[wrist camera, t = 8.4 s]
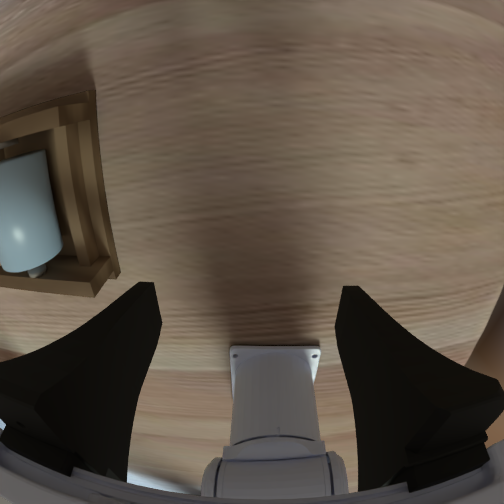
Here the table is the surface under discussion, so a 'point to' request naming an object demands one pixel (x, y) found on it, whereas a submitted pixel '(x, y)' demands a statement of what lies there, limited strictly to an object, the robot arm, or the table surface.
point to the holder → (66, 194)
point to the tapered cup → (27, 213)
